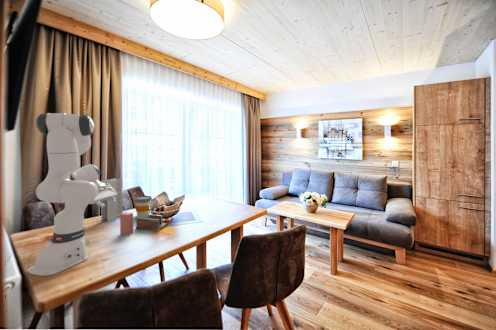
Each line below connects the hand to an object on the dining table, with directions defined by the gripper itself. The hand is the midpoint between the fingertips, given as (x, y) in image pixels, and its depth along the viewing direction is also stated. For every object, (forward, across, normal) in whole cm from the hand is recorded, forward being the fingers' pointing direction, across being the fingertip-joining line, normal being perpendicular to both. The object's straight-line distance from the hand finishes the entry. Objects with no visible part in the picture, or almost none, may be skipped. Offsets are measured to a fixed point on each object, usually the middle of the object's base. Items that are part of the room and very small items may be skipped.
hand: (109, 204), depth 140 cm
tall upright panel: (0, +22, +25) cm, 34 cm away
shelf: (+28, +13, -2) cm, 31 cm away
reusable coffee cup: (+13, +34, +12) cm, 38 cm away
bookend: (+27, +17, -3) cm, 32 cm away
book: (+21, 0, +4) cm, 22 cm away
